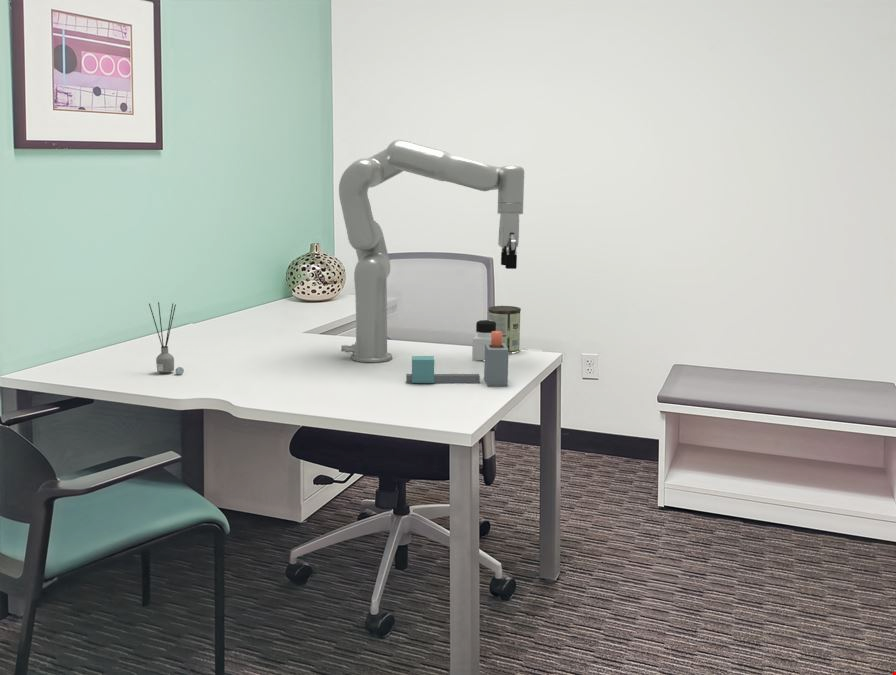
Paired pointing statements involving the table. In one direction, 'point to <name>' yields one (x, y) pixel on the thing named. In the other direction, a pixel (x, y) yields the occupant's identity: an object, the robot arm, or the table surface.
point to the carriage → (422, 369)
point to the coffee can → (507, 325)
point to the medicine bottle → (482, 338)
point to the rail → (451, 378)
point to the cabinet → (496, 365)
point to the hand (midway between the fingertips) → (508, 266)
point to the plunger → (496, 339)
